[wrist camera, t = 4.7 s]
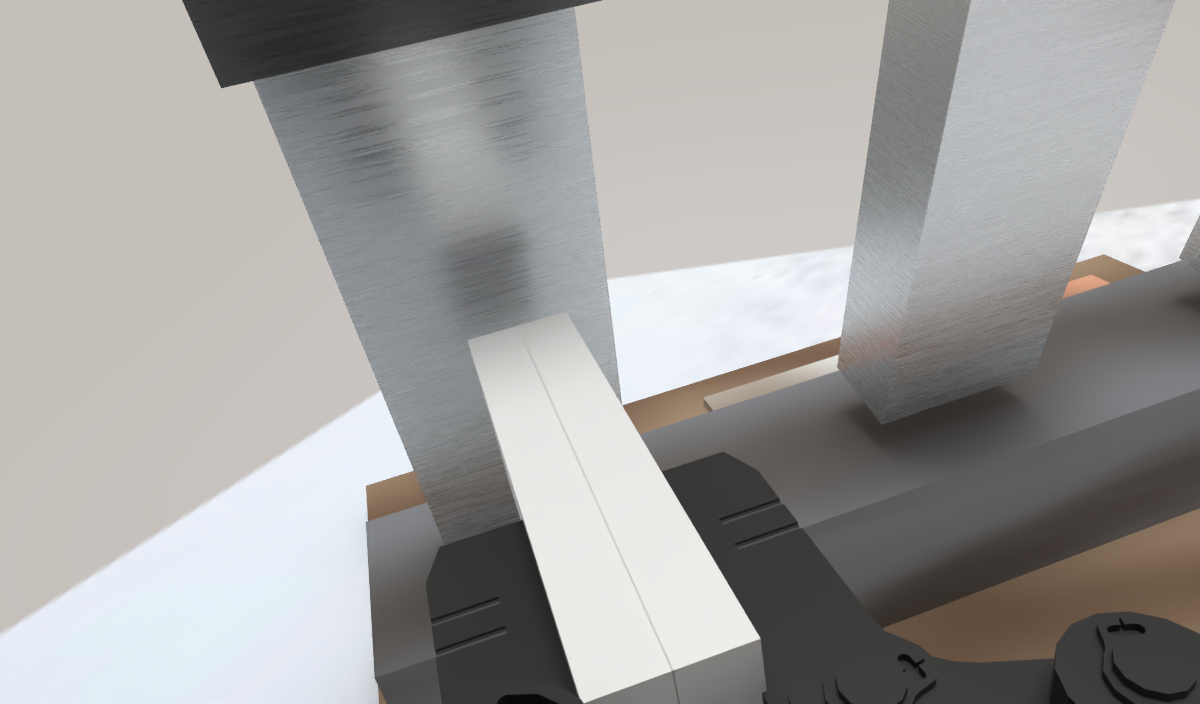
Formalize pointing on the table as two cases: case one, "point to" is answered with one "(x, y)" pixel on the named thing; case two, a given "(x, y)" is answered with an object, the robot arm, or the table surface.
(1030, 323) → the lever middle
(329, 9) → the lever
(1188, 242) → the lever
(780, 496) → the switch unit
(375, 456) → the table surface
